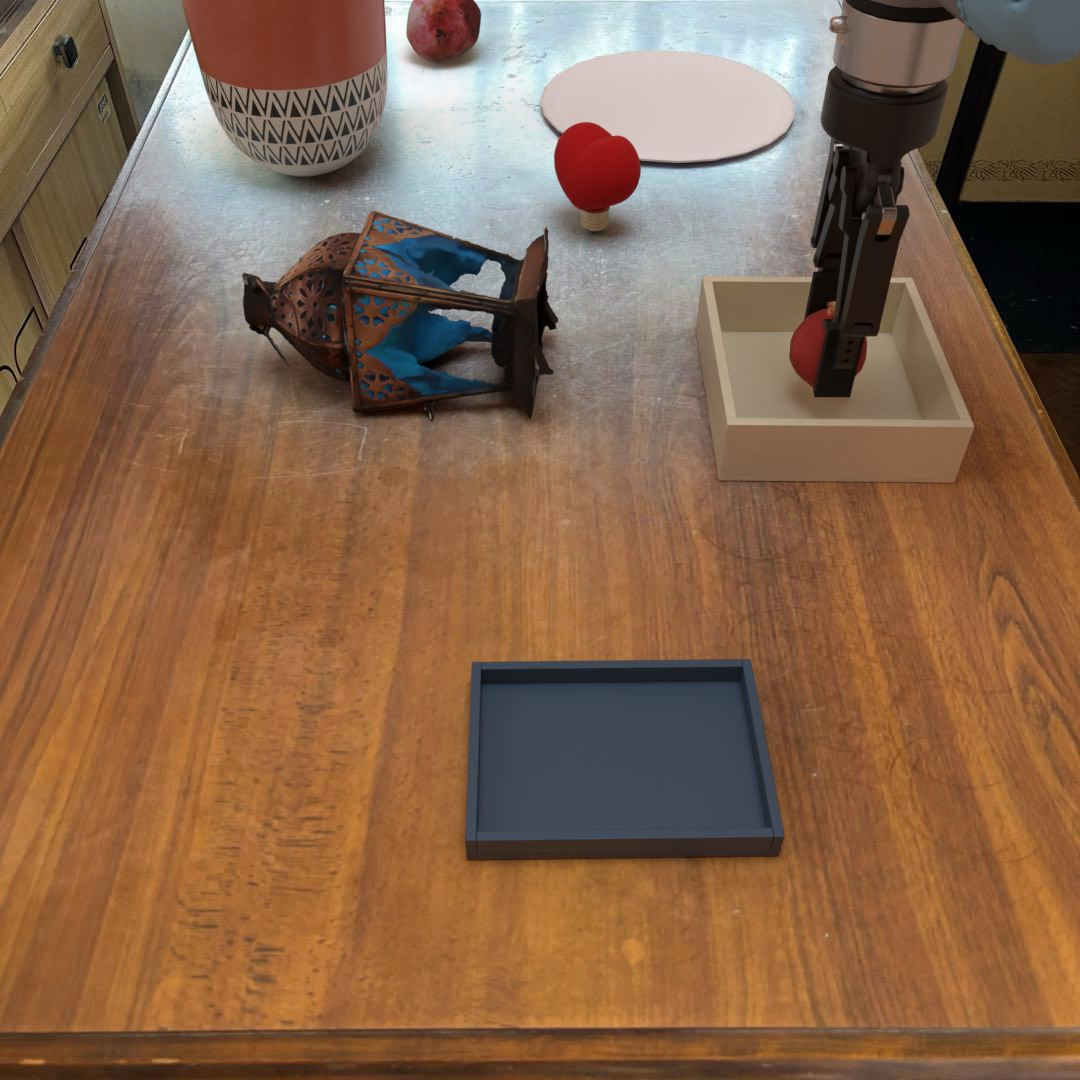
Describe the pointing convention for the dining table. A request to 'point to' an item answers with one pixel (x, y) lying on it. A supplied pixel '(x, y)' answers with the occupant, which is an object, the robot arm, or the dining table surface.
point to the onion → (814, 345)
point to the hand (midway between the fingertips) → (824, 368)
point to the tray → (618, 761)
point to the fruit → (443, 28)
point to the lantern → (405, 313)
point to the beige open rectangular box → (825, 422)
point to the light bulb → (595, 171)
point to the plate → (672, 104)
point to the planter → (293, 77)
